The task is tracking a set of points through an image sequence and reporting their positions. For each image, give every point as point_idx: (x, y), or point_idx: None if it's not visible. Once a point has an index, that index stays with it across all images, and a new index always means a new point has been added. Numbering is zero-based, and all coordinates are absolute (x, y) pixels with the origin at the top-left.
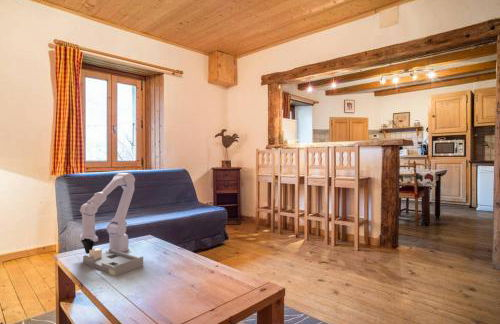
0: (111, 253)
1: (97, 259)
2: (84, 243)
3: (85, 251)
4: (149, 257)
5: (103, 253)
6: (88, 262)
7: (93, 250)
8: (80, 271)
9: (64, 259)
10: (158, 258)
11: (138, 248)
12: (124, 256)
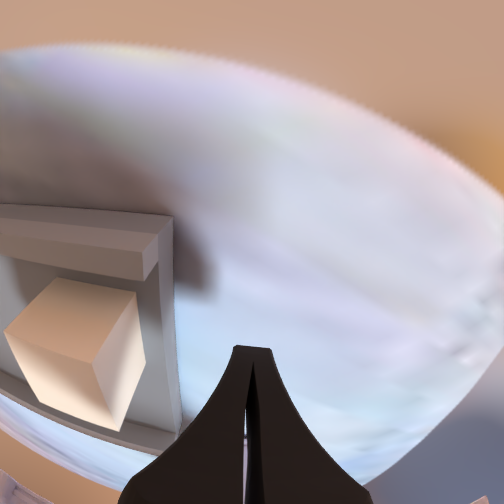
0: None
1: (40, 292)
2: (234, 474)
3: (267, 363)
4: (27, 411)
5: (168, 409)
6: (57, 216)
7: (35, 357)
8: (17, 94)
9: (472, 205)
10: (5, 404)
11: None
12: (5, 377)
